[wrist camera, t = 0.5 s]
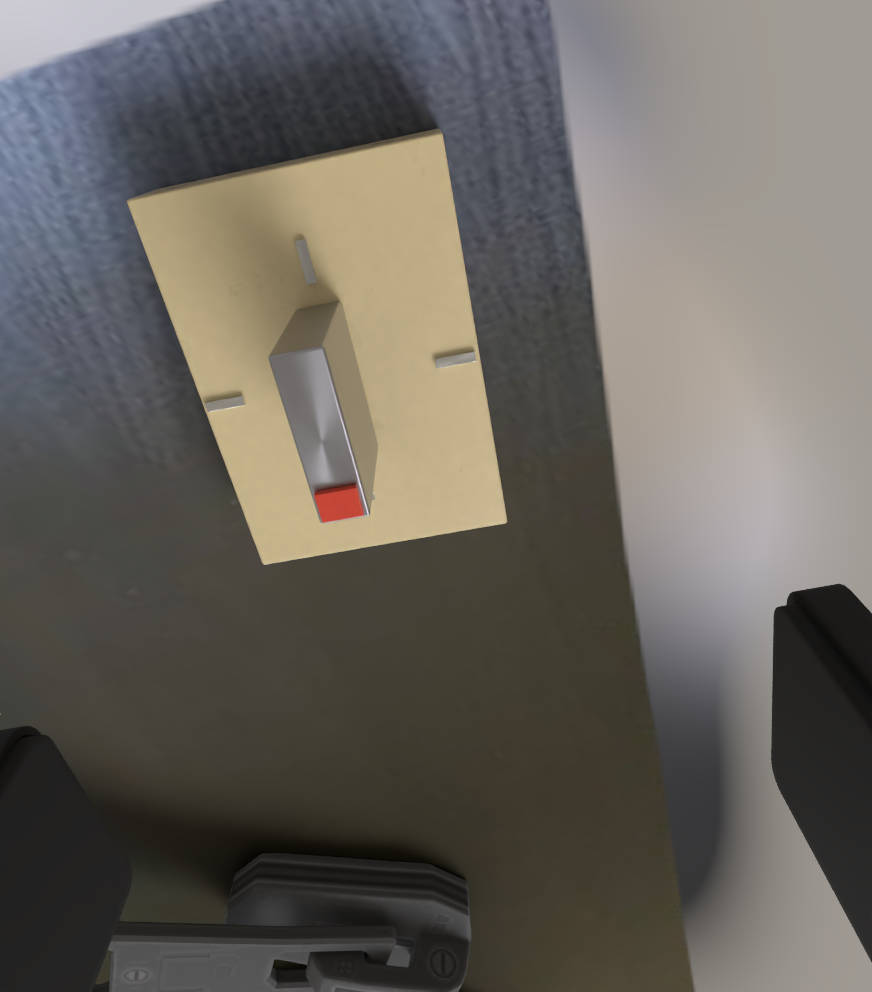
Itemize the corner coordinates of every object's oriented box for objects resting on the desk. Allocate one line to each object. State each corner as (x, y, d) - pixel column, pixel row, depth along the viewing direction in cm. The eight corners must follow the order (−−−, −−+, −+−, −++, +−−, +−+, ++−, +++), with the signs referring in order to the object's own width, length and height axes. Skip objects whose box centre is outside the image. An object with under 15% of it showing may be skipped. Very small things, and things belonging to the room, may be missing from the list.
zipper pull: (-1, 929, 35) (494, 990, 38) (60, 810, 40) (485, 871, 44) (5, 1022, 39) (450, 1069, 42) (59, 902, 45) (447, 952, 48)
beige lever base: (156, 189, 25) (123, 201, 22) (439, 128, 24) (442, 132, 21) (275, 526, 32) (261, 568, 29) (500, 487, 31) (508, 525, 28)
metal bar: (294, 309, 24) (265, 359, 19) (341, 299, 24) (322, 348, 19) (336, 454, 27) (319, 529, 22) (379, 447, 26) (370, 520, 22)
